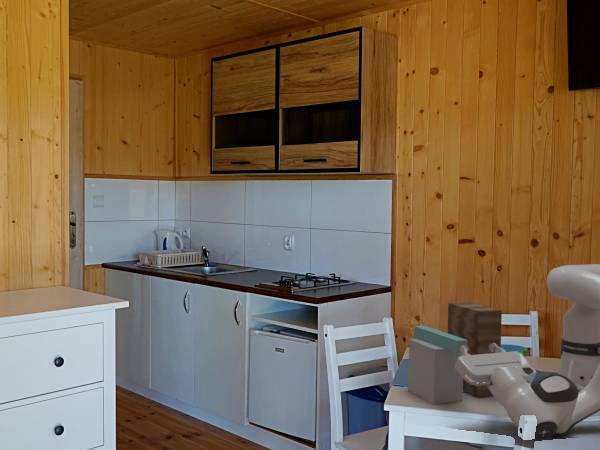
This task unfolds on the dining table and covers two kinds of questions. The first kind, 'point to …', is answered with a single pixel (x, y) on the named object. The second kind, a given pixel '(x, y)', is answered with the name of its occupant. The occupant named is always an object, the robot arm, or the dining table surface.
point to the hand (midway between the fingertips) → (476, 345)
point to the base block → (434, 373)
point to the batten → (439, 338)
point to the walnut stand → (475, 333)
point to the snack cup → (515, 348)
